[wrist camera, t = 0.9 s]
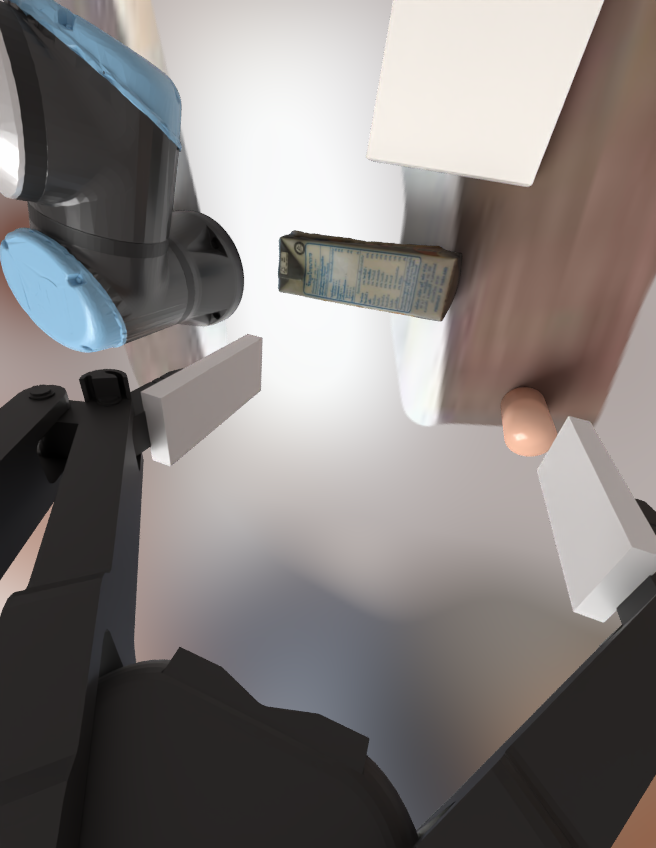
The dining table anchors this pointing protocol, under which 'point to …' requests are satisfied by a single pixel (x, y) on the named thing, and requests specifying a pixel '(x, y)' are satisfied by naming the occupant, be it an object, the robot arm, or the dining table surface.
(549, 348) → the dining table surface
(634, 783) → the robot arm
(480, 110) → the white flat slab
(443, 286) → the beverage carton
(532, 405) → the peach rounded cylinder
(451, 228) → the dining table surface
